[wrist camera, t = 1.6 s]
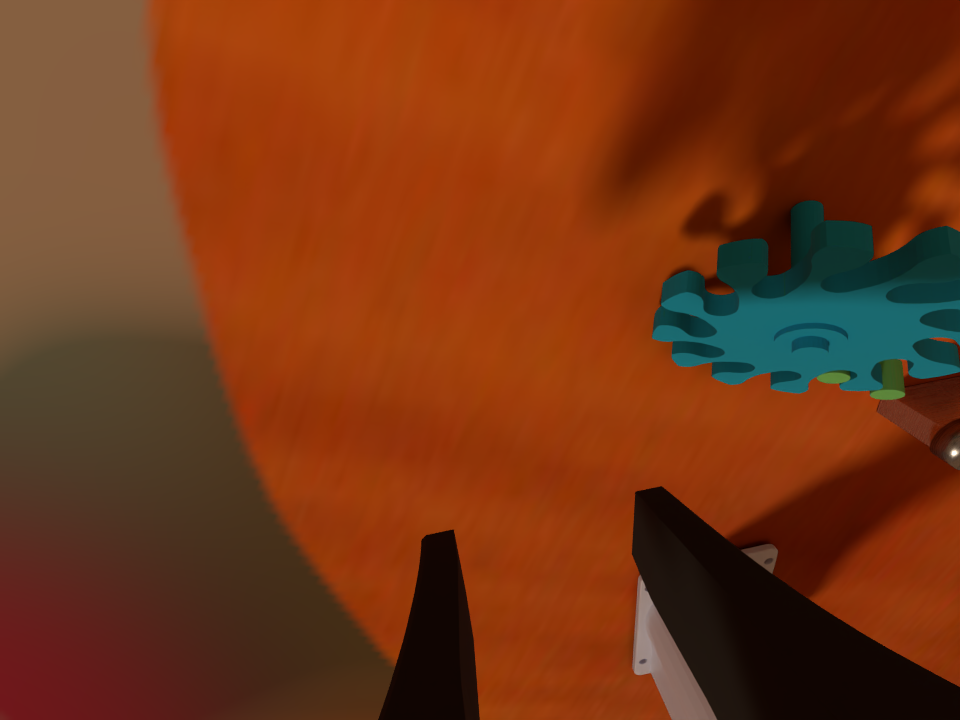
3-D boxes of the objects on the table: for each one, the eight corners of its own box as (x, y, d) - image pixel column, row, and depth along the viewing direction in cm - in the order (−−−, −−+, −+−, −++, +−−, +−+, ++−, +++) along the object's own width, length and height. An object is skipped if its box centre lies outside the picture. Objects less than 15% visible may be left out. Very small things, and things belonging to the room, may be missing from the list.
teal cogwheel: (591, 322, 18) (983, 211, 10) (612, 191, 20) (949, 14, 12) (745, 423, 23) (1072, 403, 16) (749, 312, 25) (1038, 246, 18)
